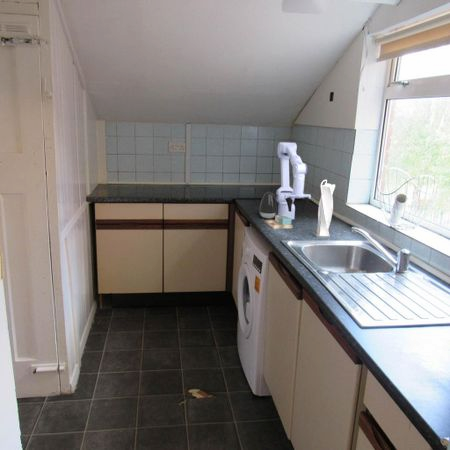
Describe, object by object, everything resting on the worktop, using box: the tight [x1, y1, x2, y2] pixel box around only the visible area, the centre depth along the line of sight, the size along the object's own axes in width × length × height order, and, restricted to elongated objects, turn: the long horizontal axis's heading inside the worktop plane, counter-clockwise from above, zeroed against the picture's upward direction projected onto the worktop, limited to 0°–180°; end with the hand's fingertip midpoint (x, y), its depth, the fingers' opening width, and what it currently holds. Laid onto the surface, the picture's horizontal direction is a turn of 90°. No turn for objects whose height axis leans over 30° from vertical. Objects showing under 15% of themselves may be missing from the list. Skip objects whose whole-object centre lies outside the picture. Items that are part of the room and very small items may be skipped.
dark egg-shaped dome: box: [258, 191, 278, 219], centre depth 255 cm, size 10×10×15 cm
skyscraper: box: [312, 179, 336, 239], centre depth 218 cm, size 8×8×28 cm
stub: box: [279, 217, 293, 225], centre depth 236 cm, size 5×5×3 cm
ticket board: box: [264, 214, 293, 230], centre depth 238 cm, size 11×13×5 cm
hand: (296, 211), depth 235 cm, fingers open, 7 cm apart
